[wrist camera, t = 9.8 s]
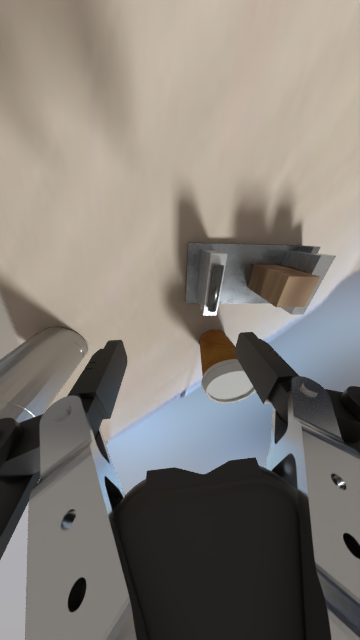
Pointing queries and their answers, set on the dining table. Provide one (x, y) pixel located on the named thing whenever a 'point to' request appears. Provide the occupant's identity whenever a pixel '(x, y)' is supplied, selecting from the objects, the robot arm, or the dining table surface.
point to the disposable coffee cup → (222, 369)
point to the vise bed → (242, 265)
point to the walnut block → (282, 285)
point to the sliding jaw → (210, 280)
